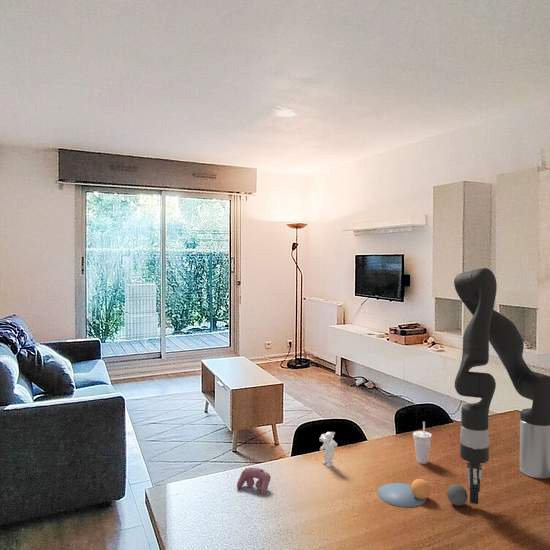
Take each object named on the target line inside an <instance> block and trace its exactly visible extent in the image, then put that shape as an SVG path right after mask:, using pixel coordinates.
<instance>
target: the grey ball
mask: <svg viewBox="0 0 550 550" xmlns="http://www.w3.org/2000/svg"><path fill="white" fill-rule="evenodd" d="M446 496H447V499H448V501H449V502H450V503H451V504H452V505H454V506H458V507H460V506H463V505H465V504H466V503H467V502H468V499H469V498H468V497H469V496H468V492H467V490H466V488H464V486H462V485H460V484H452V485H450V486H449V487H448V488H447V491H446Z"/></svg>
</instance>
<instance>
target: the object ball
mask: <svg viewBox="0 0 550 550" xmlns="http://www.w3.org/2000/svg"><path fill="white" fill-rule="evenodd" d="M411 491H412V494H413V495H414V496H415V497H416V498H418V499H426V500H427V498H429V496H430V495H431V486H430V484H429V482H427V481H426V480H425V479H421V478H417V479H414V480H413V481H412V483H411Z"/></svg>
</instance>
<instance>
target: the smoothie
mask: <svg viewBox="0 0 550 550" xmlns="http://www.w3.org/2000/svg"><path fill="white" fill-rule="evenodd" d="M425 423H426V422H425V421H422V426H423V427H422V430H416V431H414V432H412V437H413V441H414V449H415V457H416V458H415V459H416V462H417V463H419V464H423V465H426V464H428V462H429V456H430V447H431V440H432V439H433V438H432V437H433V436H432V433H430V432H428V431H426V424H425Z"/></svg>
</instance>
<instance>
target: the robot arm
mask: <svg viewBox="0 0 550 550" xmlns="http://www.w3.org/2000/svg"><path fill="white" fill-rule="evenodd" d="M453 285H454V290H455V292H456V294H457V296H458V297H459V299H460V300H461V302H462V303H463V304H464V305H465V307H466V308H467V310H468V311H469V312H470V313H471V315H472V318H471V319H470V321H469V323H468V325H466V328H465V330H464V333H463V337H462V356H461V362H460V365H459V368H458V371H457V374H456V376H455V379H454V389H455V392H456V393H457V394H458V395H459V396H462V397H468V398H476V399H477V398H479V399H480V400H479V401H478V402H473V403H466V404H464V405H462V407H461V409H460V410H461V411H460V412H461V413H460V414H461V415H460V416H461V418H460V419H461V421H460V427H461V428H460V430H459V431H460V432H459V433H460V434H459V436H460V437H459V440H460V442H459V444H460V445H459V456H460V458H461V459H462V460H464V461H466V472H467V482H468V490H469V503H471V504H473V505H478V504H479V493H480V491H481V484H482V475H483V468H482V467H483V466H482V464H486V463H488V462H489V461H490V460H489V459H490V434H489V412H490V406H491V403H492V400H493V398H494V394H495V391H496V386H497V385H496V384H497V383H496V380H495V377H494V376H493V375H492V374H490V373H488V372H479V371H470V370H471V369H472V368H475V367H483V366H486V365H488V363H489V360H490V359H489V358H490V356H489V355H490V354H489V353H490V345H491V347H492V349H493V350H494V351H495V353H496V354H497V356H498V358H499V360H500V361H501V364H502V365H503V366H504V369H505V370H506V372H507V374H508V376H509V379H510V381H511V383H512V386H513V387H514V389H515V391H516V392H517V394H519V396H521V397H523V398H525V399H528V400H530V401H532V404H531V408H530V407H529V408H523V409H522V410H521V411H520V413H519V472H521V473H522V474H523V475H525V476H528V477H530V478H534V479H549V478H550V375H548V374H544V373H540V372H537V371H533V370H532V369H531V368H530V367H529V366H528V365H527V363H526V361H525V359H524V358H523V354H524V347H525V345H524V344H525V343H524V339H523V337H522V335H521V333H520V331H519V330H518V328H517V326H516V325H515V323H514V322H513V321H512V320H511V319H509V317H506V316H505V315H503V314H502V313H500V312H498V311H497V310H496V309H495V301H496V297H497V288H498V287H497V286H498V285H497V278H496V275H495V274H494V273H493V271H492V270H491V269H490V268H487V267H483V268H477V269H473V270H469V271H468V270H467V271H464V272H461V273H458V274H457V275H456V276H455V277H454V279H453Z"/></svg>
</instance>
